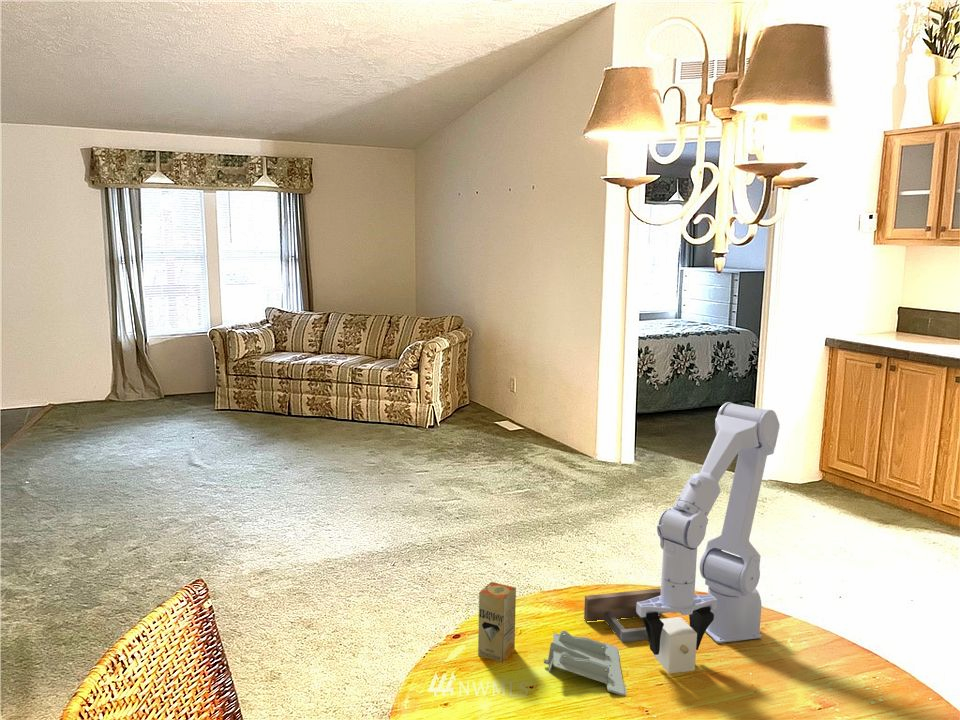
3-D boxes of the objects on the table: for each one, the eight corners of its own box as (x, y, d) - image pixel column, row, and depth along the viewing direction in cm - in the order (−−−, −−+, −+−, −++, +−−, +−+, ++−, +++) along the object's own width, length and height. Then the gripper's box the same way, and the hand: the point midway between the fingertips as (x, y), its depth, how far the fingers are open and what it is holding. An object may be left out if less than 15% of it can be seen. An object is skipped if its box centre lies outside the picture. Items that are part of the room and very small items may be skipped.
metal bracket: (552, 660, 127) (552, 616, 142) (541, 691, 128) (542, 644, 143) (635, 688, 126) (626, 641, 141) (624, 718, 128) (616, 669, 142)
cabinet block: (678, 652, 141) (680, 616, 139) (697, 672, 134) (699, 635, 133) (653, 655, 139) (654, 619, 138) (670, 676, 133) (672, 638, 132)
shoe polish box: (490, 642, 143) (491, 581, 141) (514, 649, 141) (515, 587, 139) (478, 655, 139) (479, 592, 137) (502, 662, 136) (504, 598, 135)
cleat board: (658, 611, 156) (659, 588, 155) (681, 635, 146) (683, 610, 146) (584, 619, 152) (584, 595, 151) (603, 644, 143) (604, 619, 142)
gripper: (650, 590, 129) (646, 666, 131) (728, 583, 132) (723, 656, 134) (632, 573, 136) (629, 645, 138) (707, 566, 139) (702, 636, 141)
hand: (674, 649), depth 137 cm, fingers open, 7 cm apart
